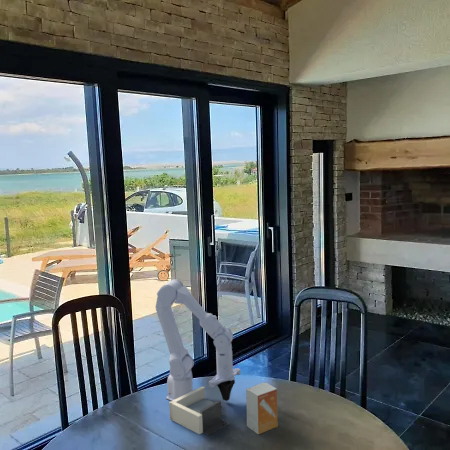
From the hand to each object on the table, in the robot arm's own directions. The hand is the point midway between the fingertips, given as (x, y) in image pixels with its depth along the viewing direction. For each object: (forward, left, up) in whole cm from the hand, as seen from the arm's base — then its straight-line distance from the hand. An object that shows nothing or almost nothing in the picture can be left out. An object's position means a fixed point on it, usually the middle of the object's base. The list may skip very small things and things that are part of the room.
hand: (225, 399), depth 167 cm
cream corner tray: (0, -12, -1) cm, 12 cm away
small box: (+20, -4, -2) cm, 20 cm away
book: (-1, -12, -2) cm, 12 cm away
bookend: (+8, -14, -1) cm, 17 cm away
